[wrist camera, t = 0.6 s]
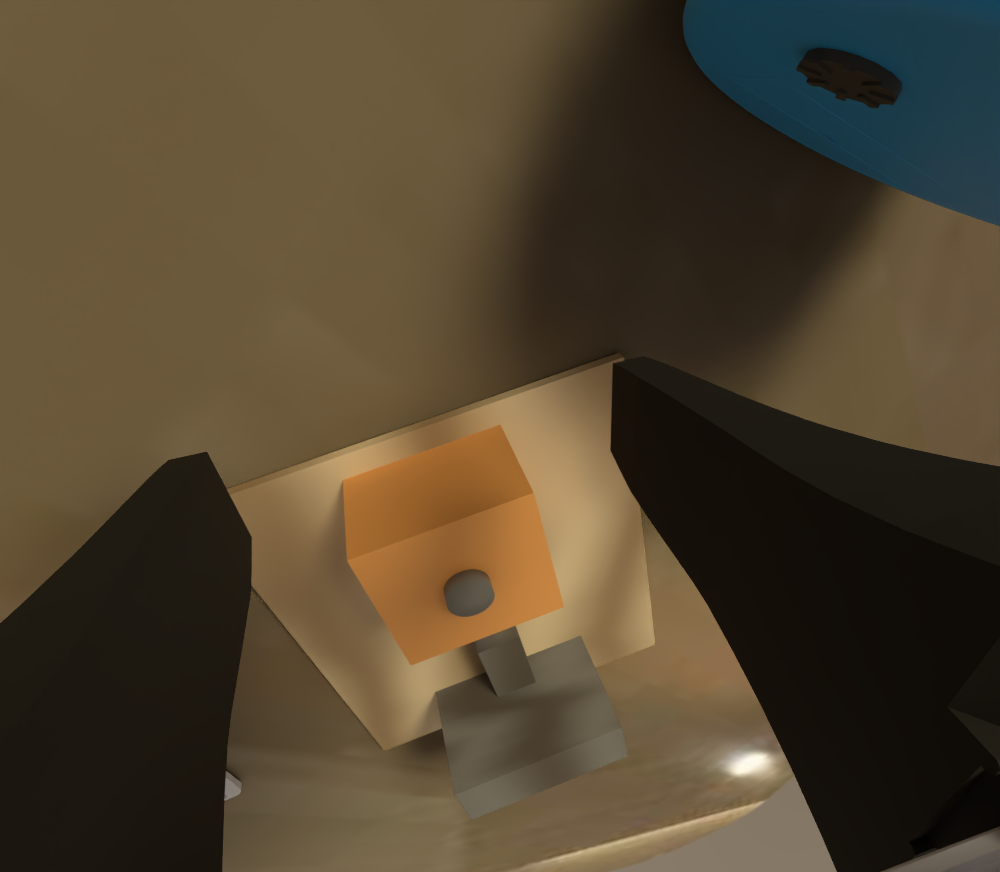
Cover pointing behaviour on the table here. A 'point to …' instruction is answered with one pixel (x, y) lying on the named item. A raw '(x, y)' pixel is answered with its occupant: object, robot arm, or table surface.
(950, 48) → the alarm clock
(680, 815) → the table surface
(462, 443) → the lock
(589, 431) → the dock
